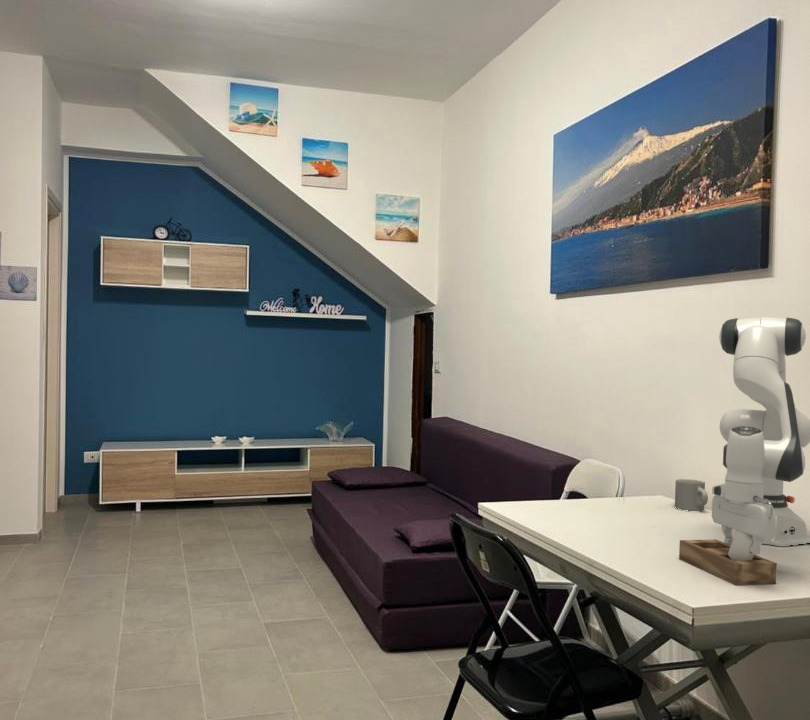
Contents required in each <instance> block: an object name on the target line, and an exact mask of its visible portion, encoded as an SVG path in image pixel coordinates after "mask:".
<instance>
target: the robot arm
mask: <svg viewBox="0 0 810 720" xmlns="http://www.w3.org/2000/svg"><path fill="white" fill-rule="evenodd" d="M806 336H807V335H806V330H805V328H804V325H803V322H801V321H800V320H799V319H797V318H795V317H794V318H792V317H786V318H784V317H774V316H761V317H748V318H747V317H746V318H737V317H736V318H731V319H726V320H725V321H724V323H723V324H722V326H721V328H720V331H719V336H718V337H719V338H718V339H719V343H720V346H721V349H722V351H724V352H725V354H728V355H731V356H734V358H733V365H732V366H733V369H732V370H733V371H732V374H733V375H732V376H733V378H732V379H733V383H734V385H735V386H736V387H737V389H738V390H739V391H740V392H741V393H743V394H744V395H746V396H747V397H748V398H750V399H751V400H752V401H754V402H756V403H758V404H759V405H761V406H763V408H765V409H764V410H761V409H745V408H743V409H732V410H727V411H726V412H725V413H724V414H722V417H721V418H720V421H719V431H720V434H721V437H722V438H723V439H724V440H725V441H726V442H727V443H726V444H725V445H724V446H723V455H722V458H723V459H722V465H723V466H724V467H725V468H726V474H725V478H724V483H721V484H717V485H716V484H715V485H713V486H712V487H711V493H712V495H714V496H713V497H712V501H711V519H712V521H713V522H714V523H715V524H719V525H721V530H722V534H723V536H724V543H725V544H728V545H731V544H732V541H733V538H734V536H733V533H732V531H733V530H735V531H737V530H738V531H741V532H744V533H747V534H750V535H753V540H754V542H753V545H752V546H750V553H752V554H754V555H757V556H759V555H760V553H761V547H762V545H763V544H764V545H771V546H776V547H790V545H793V546H799V545H798V544H804V545H807V544H806V543H810V536H808V532H807V531H808V528H807V525H806V522H805V520H804V519H803V518H801V517H800V516H799V515H798V514H797V513H795V511H793V510H792V509H791V508H790V507H788V506H789V505H788V503H790V504H794V503H795V502H796V498H795V496H791V495H785V494H784V482H789V483H792V482H794V481H795V480H797V479H798V478H800V477H801V476H802V475H804V471H805V468H806V457H805V454H804V450H803V448H806V447H807V446H808V445H809V444H810V418H809V417H808V416H806V415H805V414H804V413H802V412H801V411H800V410H799V409H798V408H796V406H795V405H796V404H795V402H794V395H793V391H792V389H791V388H792V387H791V386H790V384H789V383H788V382H786V381H787V380H786V379H787V378H786V377H787V375H786V374H787V373H786V357H789V356H793V355H796V354H798V353H799V352H801V351H802V349H803V346H804V345H805V342H806Z"/></svg>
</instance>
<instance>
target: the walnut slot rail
mask: <svg viewBox="0 0 810 720" xmlns="http://www.w3.org/2000/svg"><path fill="white" fill-rule="evenodd" d="M730 547H731V545H728V544H725V541H722V540H718V539H681V540H679V552H678V553H679V554H678V555H679V556H678V559H679V560H680V561H683V562H684V563H687V564H689V565H691V566H693V567H696V568H697V569H700V570H702V571H704V572H706V573H709V574H711V575H713V576H714V577H717V578H719V579H721V580H723V581H726V582H728V583H730V584H732V585H734V586H749V585H750V586H752V585H753V586H756V585H757V586H758V585H776V584H777V565H778V564H777V562H774V561H773V560H770V559H767V558H764V557H761V556H759V555H754V556H753V559H752V560H749V561H733V560H731V559H730V557H729V556H728V553H729V550H730Z"/></svg>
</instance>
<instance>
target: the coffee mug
mask: <svg viewBox="0 0 810 720" xmlns="http://www.w3.org/2000/svg"><path fill="white" fill-rule="evenodd" d="M705 488H706V482H705V481H703V480H697V479H687V478H681V479H678V478H677V479H676V480H675V493H674V497H675V498H674V508H675V507H676V508H679V509H682V510H688V511H687V512H690V511H702V512H704V511H705V506H706V505H707V504H708V501H709V496H708V495H709V494H708V492H707V490H706V489H705ZM676 508H675V509H676ZM682 510H681V511H682ZM703 510H704V511H703Z"/></svg>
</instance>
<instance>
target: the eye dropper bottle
mask: <svg viewBox="0 0 810 720" xmlns="http://www.w3.org/2000/svg"><path fill="white" fill-rule="evenodd" d="M753 542H754V540H753V535H750V534H747V533H744V532H741V531H738V530H735V533H734V536H733V541H732V544H731V547H730V550H729V553H728V556H729V557H730V559H731V560H733V561H749V560H752V559H753V556H754V554H752V553H750V546H752V545H753Z"/></svg>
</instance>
